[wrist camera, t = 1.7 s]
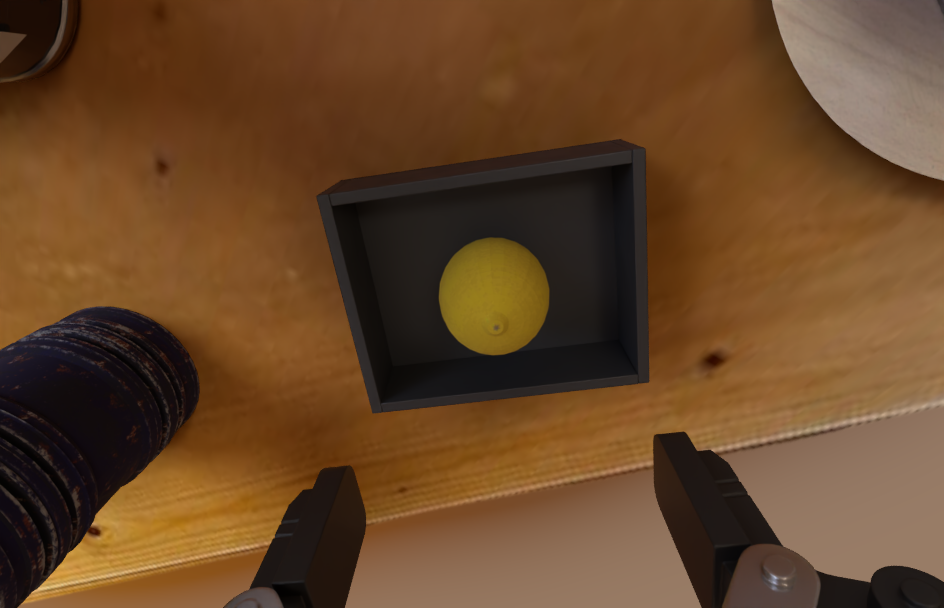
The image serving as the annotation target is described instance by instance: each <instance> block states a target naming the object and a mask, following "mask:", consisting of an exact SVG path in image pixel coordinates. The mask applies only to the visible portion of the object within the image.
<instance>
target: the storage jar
mask: <svg viewBox="0 0 944 608" xmlns="http://www.w3.org/2000/svg"><path fill="white" fill-rule="evenodd" d="M198 398H199V379H198V375H197V371H196V368H195V366H194V363H193V361H192V359H191V358H190V356H189V354H188V352H187V351H186V350H185V348H184V347H183V346H182V344H181V343H180V342H179V341H178V340H177V339H176V338H175V337H174V336H173V335H172V334H171V333H170V332H169V331H167V330H166V329H165V328H163V327H162V326H161V325H159V324H158V323H156V322H154V321H153V320H151V319H149V318H147V317H145V316H143V315H141V314H138V313H136V312H133V311H129V310H126V309H121V308H115V307H92V308H86V309H83V310H80V311H77V312H75V313H73V314H71V315H69V316H67V317H65V318H64V319H62V320H60V321H59V322H56V323H55V324H53V325H50V326H46V327H43V328H41V329H39V330H37V331H35V332H33V333H31V334H29V335H27V336H26V337H24V338H22V339H20V340H18V341H16V342H15V343H12V344H10V345H8V346H7V347H5V348H3V349H1V350H0V608H17V607H18V606H19V605H20V604H21V603H22V602H23V601H24V600H25V599H26V598H27V597H28V596H29V595H30V594H31V592H33V591H34V590H36V589H37V588H38V587H39V586H40V585H41V584H42V583H43V582H44V581H45V580H46V579H47V578H48V577H49V576H50V575H51V574H52V573H53V572H54V570H55V569H56V568H57V567H58V566H59V565H60V564H61V563H62V561H63V560H64V558H65V557H66V555H67V553H69V552H70V551H72V550H73V549H74V548H75V547H76V546H77V545H78V544H79V543H80V542H81V540H82V539H83V537H84V536H85V534H86V532H87V531H88V529H89V528H90V526H91V525H92V523H93V521H94V518H95V515H96V514H97V512H98V511H99V510H100V509H101V508H102V507H103V506H104V505H105V504H106V503H107V502H108V500H109V499H110V498H111V497H112V496H113V495H114V494H115V493H116V492H117V491H118V490H119V489H120V487H122V486H124V485H126V484H128V483H129V482H131V481H132V480H133V479H135V478H136V477H137V475H138V474H140V473H141V472H142V471H143V470H144V469H145V468H146V467H147V466H148V464H149V463H150V462H151V461H153V460H154V459H155V458H156V457H157V456H158V455H159V454H160V453H161V451H162V450H163V449H164V448H165V447H166V446H167V445H168V444H169V442H170V441H171V439H172V438H173V436H174V434H175V433H176V432H177V430H178V429H179V428H180V427H181V426H182V425H183V424H184V423H185V422H186V421H187V420H188V419H189V418H190V416H191V415H192V413H193V411H194V410H195V408H196V405H197V402H198Z"/></svg>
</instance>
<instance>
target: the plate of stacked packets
mask: <svg viewBox="0 0 944 608" xmlns="http://www.w3.org/2000/svg"><path fill="white" fill-rule="evenodd" d="M772 4H773V9H774V12H775V16H776V20H777V23H778V27H779V30H780V33H781V36H782V39H783V42H784V44H785V47H786V50H787V52H788V54H789V56H790V59H791V61H792V63H793V65H794V67H795V69H796V70H797V72H798V74H799V76H800V78H801V79H802V81H803V83H804V84H805V86H806V87H807V88H808V90H809V91H810V93H811V95H812V96H813V98H814V99H815V100H816V101H817V102H818V103H819V105H820V106H821V107H822V108H823V110H824V111H825V112H826V113H827V114H828V115H829V116H830V118H831V119H832V120H833V121H834V122H835V123H836V124H837V125H838V126H840V127H841V128H842V129H843V130H844V131H845V132H846V133H848V134H849V135H850V136H852V137H853V138H854V139H856V140H857V141H858V142H859V143H861V144H862V145H863V146H865V147H866V148H868V149H870V150H871V151H873V152H874V153H876V154H878V155H879V156H881V157H883V158H885V159H887V160H889V161H890V162H892V163H895V164H897V165H899V166H901V167H904V168H906V169H909V170H911V171H914V172H916V173H919V174H922V175H926V176H929V177H932V178H936V179H940V180H944V0H772Z"/></svg>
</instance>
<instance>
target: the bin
mask: <svg viewBox="0 0 944 608" xmlns="http://www.w3.org/2000/svg"><path fill="white" fill-rule="evenodd" d="M317 201H318V205H319V209H320V212H321V216H322V220H323V224H324V228H325V232H326V236H327V239H328V243H329V247H330V251H331V255H332V259H333V263H334V266H335V270H336V274H337V278H338V282H339V286H340V290H341V293H342V297H343V301H344V305H345V309H346V313H347V316H348V320H349V324H350V328H351V332H352V336H353V340H354V343H355V347H356V351H357V355H358V359H359V363H360V367H361V370H362V374H363V378H364V382H365V386H366V390H367V394H368V397H369V401H370V405H371V409H372V413H382V412H391V411H400V410H409V409H418V408H427V407H436V406H445V405H454V404H462V403H471V402H480V401H489V400H498V399H507V398H516V397H525V396H534V395H543V394H552V393H561V392H570V391H579V390H587V389H596V388H605V387H614V386H623V385H632V384H638V383H648V382H649V331H648V271H647V211H646V151H645V148H643V147H640V146H637V145H635V144H632V143H629V142H626V141H623V140H621V139H619V140H612V141H605V142H599V143H592V144H585V145H578V146H572V147H565V148H558V149H551V150H544V151H538V152H531V153H524V154H517V155H510V156H504V157H497V158H490V159H483V160H477V161H470V162H463V163H456V164H449V165H443V166H436V167H429V168H422V169H416V170H409V171H402V172H395V173H388V174H382V175H375V176H368V177H361V178H354V179H348V180H341V181H340V182H338V183H337V184H335V185H333V186H332V187H330V188H328V189H327V190H325V191H324V192H322V193H320V194H319V195H317ZM489 237H492V238H505V239H508V240H511V241H515V242H517V243H518V244H520V245H522V246H524V247H525V248H527V249H528V250H529V251H530V252H531V253H532V254H533V255H534V256H535V257H536V258H537V259H538V261H539V263H540V264H541V266H542V268H543V270H544V271H545V274H546V277H547V281H548V285H549V308H548V311H547V314H546V318H545V321H544V323H543V325H542V327H541V328H540V330H539V332H538V333H537V335H536V336H535V337H534V338H533V339H532V340H531V341H530V342H529V343H528V344H527V345H525V346H523V347H522V348H520V349H518V350H516V351H514V352H511V353H507V354H503V355H487V354H481V353H478V352H476V351H473V350H470V349H469V348H467V347H466V346H464V345H463V344H462V343H460V342H459V341H458V340H457V339H456V338H455V337H454V336H453V334H452V333H451V332H450V331H449V329H448V327H447V325H446V323H445V321H444V319H443V317H442V313H441V308H440V303H439V289H440V281H441V278H442V275H443V272H444V270H445V267H446V266H447V264H448V263H449V261H450V260H451V258H452V257H453V256H454V255H455V254H456V253H457V252H458V251H459V250H460V249H462V248H463V247H464V246H466V245H468V244H470V243H472V242H474V241H476V240H479V239H484V238H489Z"/></svg>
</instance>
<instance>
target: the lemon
mask: <svg viewBox="0 0 944 608" xmlns="http://www.w3.org/2000/svg"><path fill="white" fill-rule="evenodd" d="M439 303H440V308H441V313H442V317H443V319H444V321H445V323H446V325H447V327H448V329H449V331H450V332H451V333H452V334H453V336H454V337H455V338H456V339H457V340H458V341H459V342H460V343H462V344H463V345H464V346H466V347H467V348H469V349H470V350H473V351H476V352H478V353H481V354H487V355H503V354H507V353H511V352H514V351H516V350H518V349H520V348H522V347H523V346H525V345H527V344H528V343H529V342H530V341H531V340H532V339H533V338H534V337H535V336H536V335H537V333H538V332H539V330H540V328H541V327H542V325H543V323H544V321H545V318H546V314H547V311H548V308H549V285H548V281H547V277H546V274H545V271H544V270H543V268H542V266H541V264H540V263H539V261H538V259H537V258H536V257H535V256H534V255H533V254H532V253H531V252H530V251H529V250H528V249H527V248H525V247H524V246H522V245H520V244H518V243H517V242H515V241H511V240H508V239H505V238H492V237H489V238H484V239H479V240H476V241H474V242H472V243H470V244H468V245H466V246H464V247H463V248H462V249H460V250H459V251H458V252H457V253H456V254H455V255H454V256H453V257H452V258H451V260H450V261H449V263H448V264H447V266H446V267H445V270H444V272H443V275H442V278H441V281H440V289H439Z"/></svg>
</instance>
